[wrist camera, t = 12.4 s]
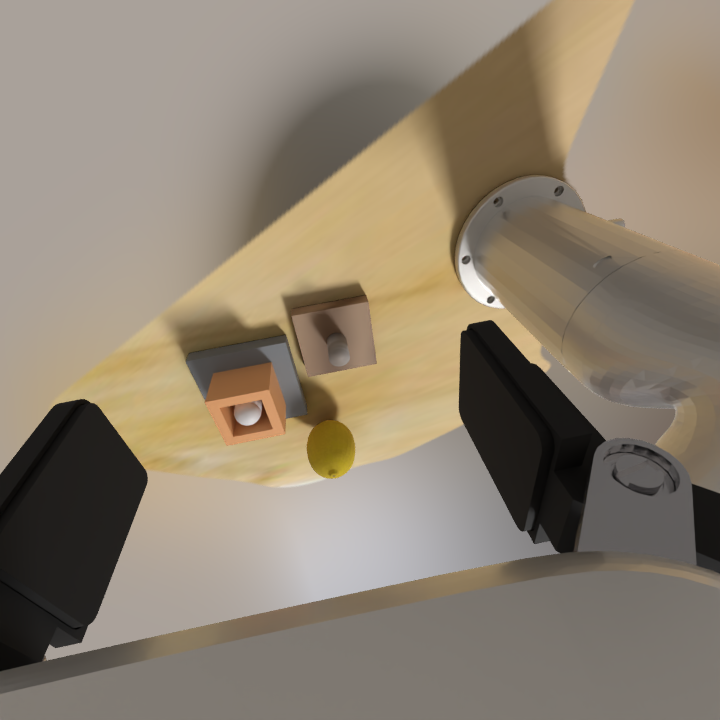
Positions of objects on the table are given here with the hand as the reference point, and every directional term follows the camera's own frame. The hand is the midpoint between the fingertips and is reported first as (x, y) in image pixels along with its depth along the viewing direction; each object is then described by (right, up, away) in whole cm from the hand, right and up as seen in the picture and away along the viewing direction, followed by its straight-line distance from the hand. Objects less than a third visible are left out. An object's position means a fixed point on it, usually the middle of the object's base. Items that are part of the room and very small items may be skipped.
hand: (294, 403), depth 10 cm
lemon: (-2, -7, +37) cm, 38 cm away
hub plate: (-10, -1, +32) cm, 33 cm away
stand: (-1, +4, +30) cm, 30 cm away
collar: (-10, -2, +30) cm, 32 cm away
